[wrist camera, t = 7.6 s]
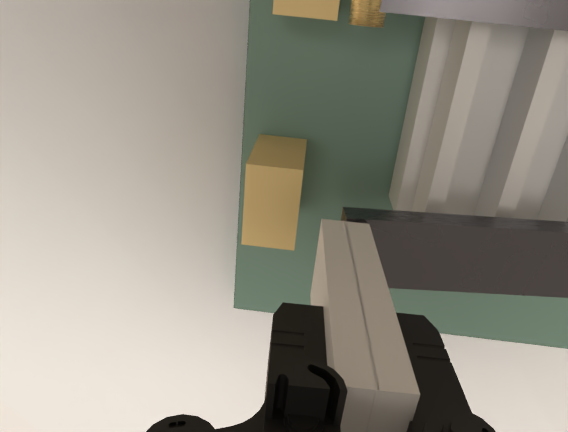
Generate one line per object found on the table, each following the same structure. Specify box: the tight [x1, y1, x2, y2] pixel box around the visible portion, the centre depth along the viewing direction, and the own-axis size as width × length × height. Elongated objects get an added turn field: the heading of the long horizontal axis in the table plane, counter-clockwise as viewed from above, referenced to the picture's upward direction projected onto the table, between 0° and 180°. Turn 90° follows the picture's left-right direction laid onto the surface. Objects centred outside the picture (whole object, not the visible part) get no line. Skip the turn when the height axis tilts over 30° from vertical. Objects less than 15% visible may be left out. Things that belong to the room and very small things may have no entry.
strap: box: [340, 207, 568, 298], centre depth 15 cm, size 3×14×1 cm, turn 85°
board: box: [234, 0, 568, 349], centre depth 17 cm, size 23×22×5 cm
